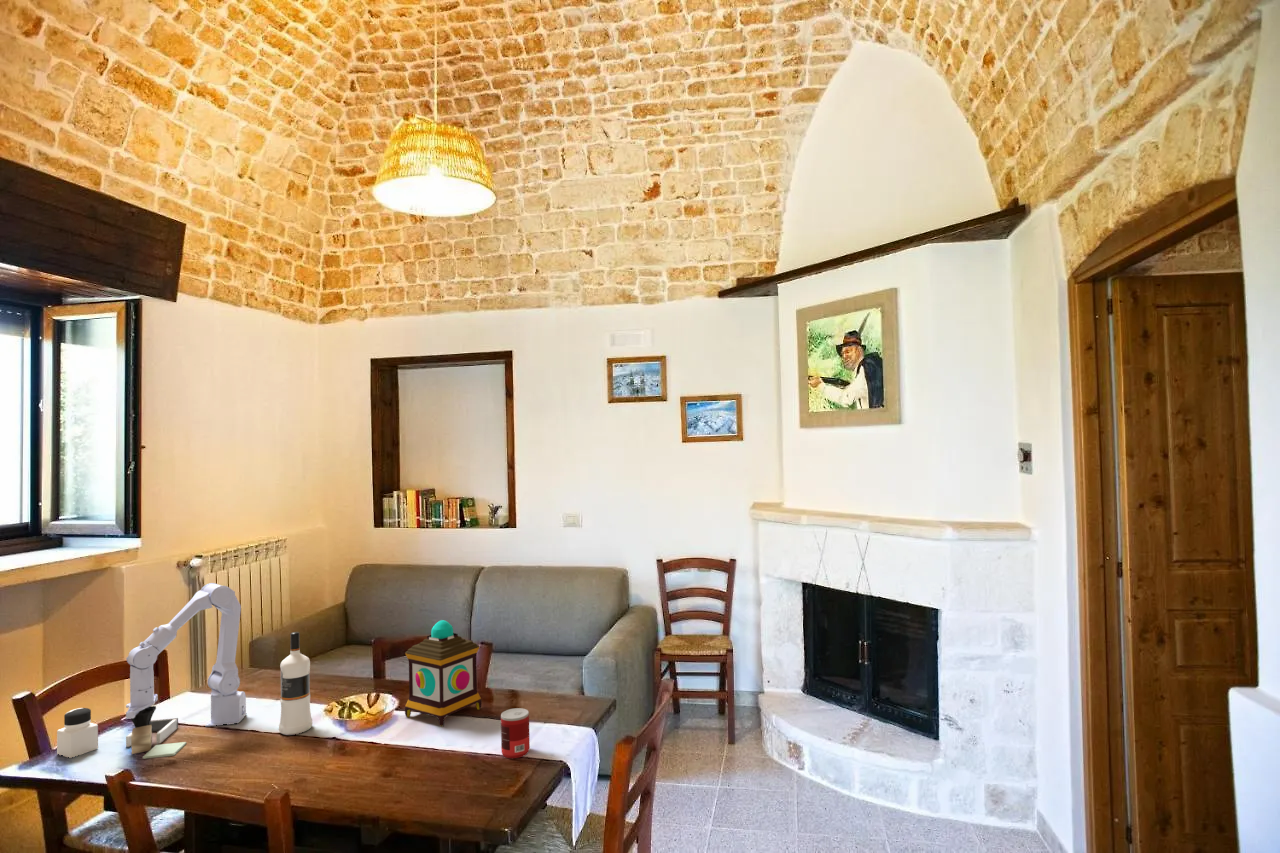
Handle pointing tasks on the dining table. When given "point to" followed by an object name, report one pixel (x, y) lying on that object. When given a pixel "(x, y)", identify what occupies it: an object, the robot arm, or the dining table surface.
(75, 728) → the medicine bottle
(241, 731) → the dining table surface
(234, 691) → the robot arm
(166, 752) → the tile
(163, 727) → the channel
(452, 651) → the decorative lantern
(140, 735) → the beech block
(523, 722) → the canned food
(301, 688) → the vodka
